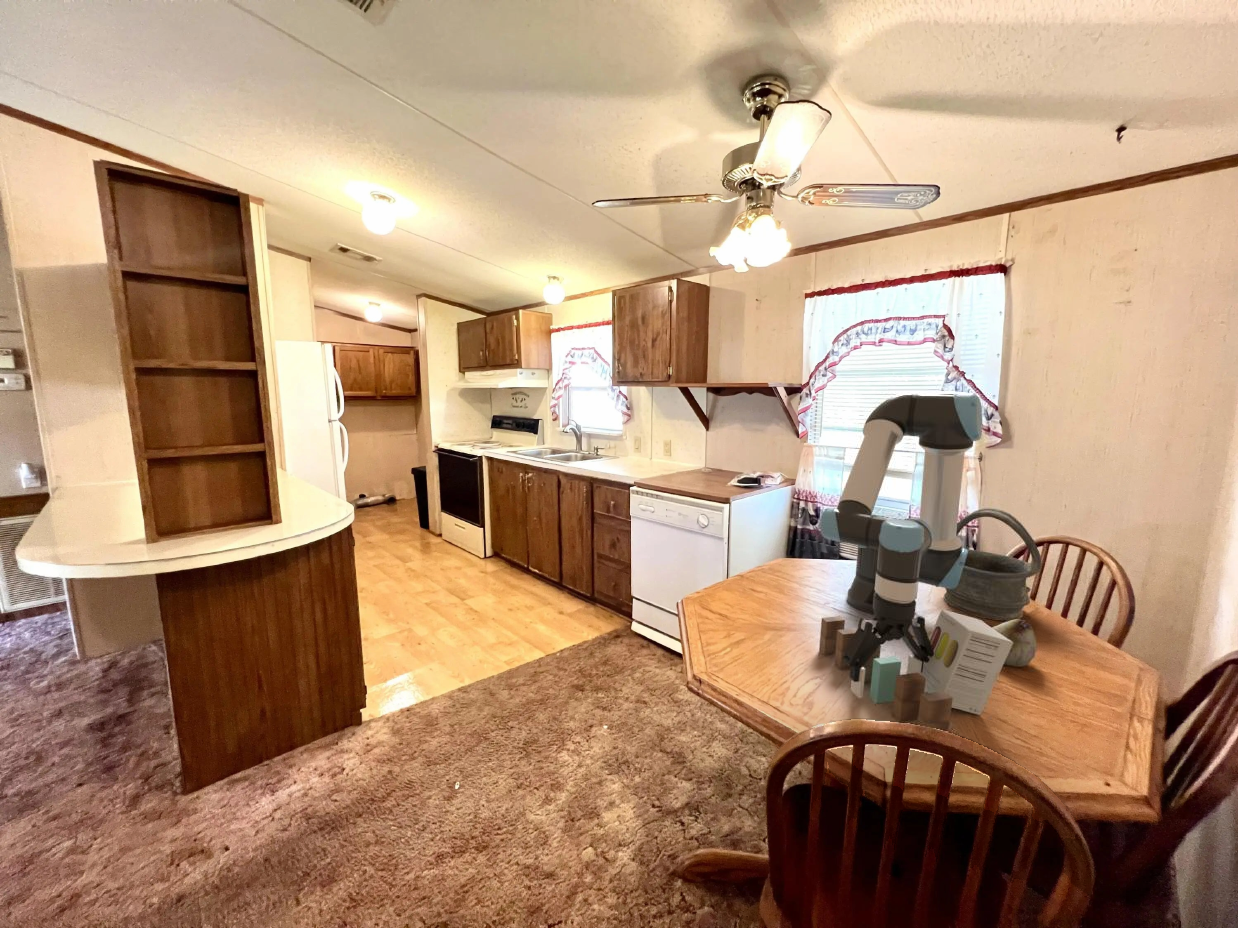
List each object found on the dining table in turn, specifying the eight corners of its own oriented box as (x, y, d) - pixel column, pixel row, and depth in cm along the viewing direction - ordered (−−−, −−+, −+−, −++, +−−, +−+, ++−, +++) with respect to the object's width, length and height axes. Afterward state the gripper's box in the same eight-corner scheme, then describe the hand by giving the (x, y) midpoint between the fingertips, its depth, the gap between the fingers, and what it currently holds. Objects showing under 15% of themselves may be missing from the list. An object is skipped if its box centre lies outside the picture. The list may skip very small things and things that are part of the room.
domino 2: (852, 662, 114) (856, 627, 113) (858, 667, 113) (862, 632, 111) (834, 665, 113) (837, 629, 112) (839, 669, 112) (843, 634, 110)
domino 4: (912, 712, 97) (917, 672, 96) (920, 719, 95) (925, 678, 94) (891, 715, 96) (896, 675, 95) (899, 722, 94) (904, 681, 93)
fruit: (1019, 677, 109) (1027, 628, 107) (973, 656, 117) (980, 611, 115) (1041, 665, 114) (1049, 618, 112) (995, 646, 122) (1002, 602, 120)
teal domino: (889, 694, 103) (894, 656, 101) (897, 700, 101) (901, 661, 99) (869, 697, 102) (873, 658, 100) (876, 703, 100) (880, 663, 98)
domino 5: (937, 733, 91) (943, 690, 90) (946, 741, 89) (952, 697, 88) (915, 737, 90) (920, 694, 89) (924, 745, 88) (929, 701, 87)
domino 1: (836, 649, 120) (839, 615, 119) (841, 653, 118) (845, 619, 117) (819, 651, 119) (821, 617, 118) (824, 655, 117) (826, 621, 116)
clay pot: (966, 586, 159) (978, 498, 154) (1049, 617, 137) (1066, 517, 132) (919, 596, 151) (929, 503, 146) (999, 631, 129) (1014, 524, 124)
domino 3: (870, 677, 109) (874, 641, 107) (877, 682, 107) (880, 645, 105) (851, 680, 108) (854, 643, 106) (857, 685, 106) (861, 648, 104)
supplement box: (911, 676, 105) (939, 607, 103) (951, 686, 105) (980, 618, 103) (938, 704, 96) (970, 629, 93) (982, 716, 96) (1015, 641, 93)
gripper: (931, 583, 104) (920, 672, 107) (829, 592, 99) (821, 686, 102) (962, 598, 96) (949, 693, 100) (853, 609, 91) (844, 709, 95)
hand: (884, 690), depth 101 cm, fingers open, 13 cm apart
